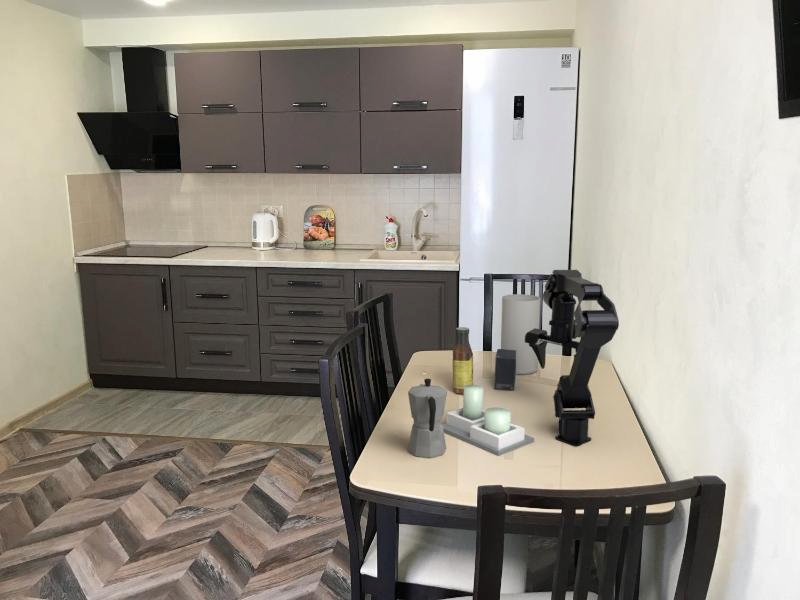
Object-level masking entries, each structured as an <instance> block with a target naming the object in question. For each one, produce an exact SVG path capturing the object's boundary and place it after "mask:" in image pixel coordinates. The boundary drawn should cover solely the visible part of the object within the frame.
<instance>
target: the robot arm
mask: <svg viewBox="0 0 800 600" xmlns="http://www.w3.org/2000/svg"><path fill="white" fill-rule="evenodd" d="M575 297H576V298H577V299H576V298H575ZM542 300H543V303H544V304H545V305H546V306H548V307H549V309H550V310H551V319H550V320H549V322H548V325H549V326H550V334H549V335H548V332H547V330H546V329H540V328H539V329H536V328H535V329H533V330H531V331H529V332H527V333H526V335H525V343H529V346H530V347H532V349H533V351H534V353H535V354H536V356H537V359H538V364H539V366H540V368H541V369H542V370H543V369H545V367H546V355H547V354H546V352H547V351H546V349H547V345H548V343H549V344H552V345H558V346H561V347H566V348H570V349H573V350H575V354H574V355H573V362H572V364H571V368H570V371H569V374H567V375H563V374H562V375H561V376H560V377H559V381H558V383H557V388H556V389H555V390H554V394H553V397H552V398H553V403H554V405H553V407H554V417H555V418H558V425H557V426H558V430H557V431H558V432H557V433H558V435H556V436H555V440H558V441H560V442H564V443H566V444H568V445H571V446H573V447H579V446H580V445H584V444H586V443H588V442H590V441H592V437H590V436H589V422H590V421H589V420H594V419H595V416H596V409H595V406H594V401H593V396H592V393H591V390H590V387H589V383H590V380H591V377H592V374H593V372H594V368H595V366H596V363H597V361H598V358H599V354H600V352H601V349H602V347H603V346H605V345H606V344H608V343H609V342H611V341H612V340H613V338H614V336H615V335H616V332H617V330H619V323H620V321H619V316H618V313H617V309H616V305H615V303H614V302H612V300H611V299H610V298H609V297H608V296H607V295H606V294H605V293H604V289H603V286H602V285H601V284H599V283H598V282H596V283H595V282H593V281H590V280H588V279H585V278H583V276H582V273H581V272H580V271H579V270H578V269H554V270H552V273H550V275H549V277H548V279H547V281H546V283H545V284H544V290H543V294H542ZM576 300H577V301H578V303H577V301H576ZM584 301H585V302H586V301H587V302H590V301H591V302H592V301H596V302H597V304H598V305H599V306H600V308H602V309H598V310H597V309H596V310H595V309H594V310H593V309H592V310H591V309H590V310H589V309H587V310H582V308H581V305H582V302H584ZM576 304H577V305H576ZM577 338H580V341H575V339H577ZM565 409H566V410H565ZM567 409H569V410H567ZM570 409H571V410H570ZM573 409H574V410H573ZM578 409H579V410H578Z"/></svg>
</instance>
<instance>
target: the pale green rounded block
mask: <svg viewBox="0 0 800 600" xmlns="http://www.w3.org/2000/svg"><path fill="white" fill-rule="evenodd" d="M462 401H463V403H462V405H463V406H462V408H463V417H464V418H467V419H469V420H472V421H473V420H476V419H479V418H482V409H483V407H484V406H483V404H484V403H483V402H484V387H483V386H481V385H477V384H473V385H467V386H465V387H464V394H463V400H462Z"/></svg>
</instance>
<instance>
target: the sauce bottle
mask: <svg viewBox="0 0 800 600" xmlns="http://www.w3.org/2000/svg"><path fill="white" fill-rule="evenodd" d="M455 334H456V340H455V342H456V343H455V346H454V347H453V349H452V390H453V392H454V393H455V394H457V395H464V387H465V386H467V385H474V353H473V350H472V347H471V344H470V341H469V339H470V338H469V337H470V328H469V327H466V326H464V327H463V326H460V327H456V328H455Z"/></svg>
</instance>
